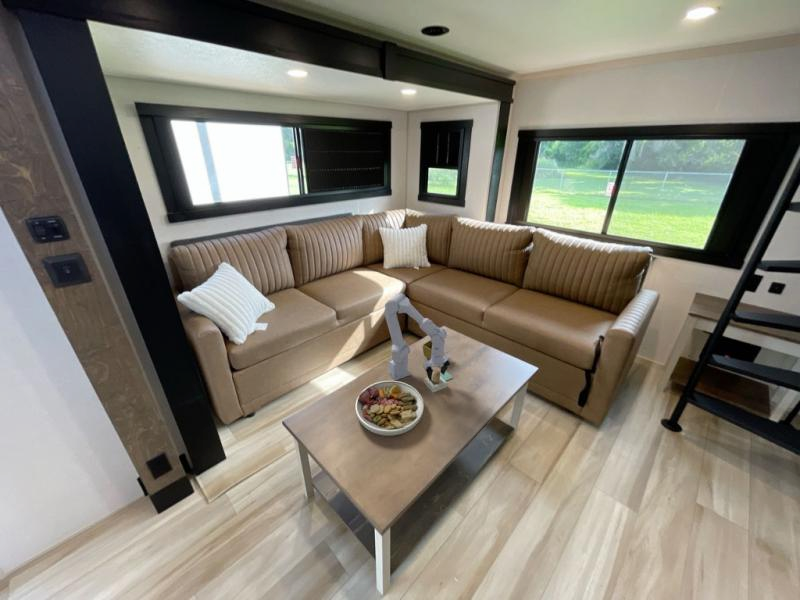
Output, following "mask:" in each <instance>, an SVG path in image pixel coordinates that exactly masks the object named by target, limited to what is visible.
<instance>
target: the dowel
mask: <svg viewBox="0 0 800 600" xmlns="http://www.w3.org/2000/svg"><path fill="white" fill-rule="evenodd" d="M440 373H441V370H439V369H433V373H432V380H431V382H432V383H433V385H436V384H439V382H440Z"/></svg>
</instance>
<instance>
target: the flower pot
mask: <svg viewBox="0 0 800 600" xmlns="http://www.w3.org/2000/svg"><path fill="white" fill-rule="evenodd" d="M422 352H423V356H424V357H425V358H426V359H428V361H429V360H430V359H431V355H432V342H431V340H430V339H429V340H428V341H427V342H424V343H423V344H422Z"/></svg>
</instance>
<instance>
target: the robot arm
mask: <svg viewBox="0 0 800 600" xmlns="http://www.w3.org/2000/svg"><path fill="white" fill-rule="evenodd" d="M383 312H384V317H385V321H386V324H387V327H388V328H387V329H388V332H389V334H390V339H391V342H392V346H391V349H390V351H391V355H390V357H391V360H389V361H388V370H387V372H388V374H389V375H390V376H391V378H392V379H393V381H398V380H400V379H404V378H405V377H406V378H407V377H409V376H411V373H410V372H409V369H408V368H409V367H408V366H409V365H408V364H409V363H408V362H409V359H408V356H409V354H410V353H411V349H410V346H408V342H407V341H406V340H404V338H403V335H402V331H401V326H400V323H399V320H398V315H397V314H407V315H408V316H409V317H410V318H411V319H412V320H414V321H416V322H417V324H418V325H419V329H421V330H422V331H423V332H424V333H425V334H426V335H428V337H429V338H430V339H429V341H430V340H431V342H432V355H431V359H430V360H429V359H428V361H426V362H424V363H423V365H422V368H423V369H424V370H425V371H426V374H427V377H428V378H429V379H430V380H431V378H432V373H433V370H434V369H432V368H433V367H440V373H442V374H443V375H444V374H445V371H447V369H448V368H449V367H450V365H451V358H452V357H451V356H450V355H445V343H446V342H445V340H446V338H447V336H448V333H447V332H446V330H445V329H444V328H443V327H439V326H437V325H436V324H435V323H434V321H433V320H431V319H429V318H428V317H424V316H423V315H422V314H421V313H420V312H419V310H417V309H416V308H415V307H414V306H413V305H412V303H411V302H410V299H409V298H408V297H407V296H406V295H405V294H404V293H402V292H397V293H396V294H395V295H394V296H393V297H392V298H390V299H389V300H387V301H386V302H385V303H384V311H383Z"/></svg>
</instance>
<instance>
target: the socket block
mask: <svg viewBox="0 0 800 600" xmlns="http://www.w3.org/2000/svg"><path fill="white" fill-rule="evenodd" d="M431 380H432V378H431ZM431 380H430V379H429V378H428V376H426V377H424V381H423V383H424V384H425V385H426V387H427V388H428V389H429V390H430V391H431V392H432V393H435V392H439V391H441V390H443V389H446V388H447V385H448V382H447V381H445V380H444V379H443V378H442V377H441V376H440V382H439V384H436V385H433V383H432V382H431Z"/></svg>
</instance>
